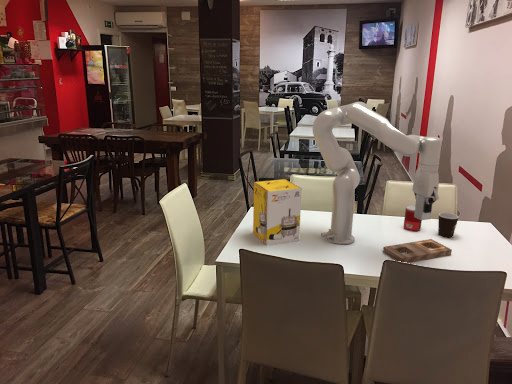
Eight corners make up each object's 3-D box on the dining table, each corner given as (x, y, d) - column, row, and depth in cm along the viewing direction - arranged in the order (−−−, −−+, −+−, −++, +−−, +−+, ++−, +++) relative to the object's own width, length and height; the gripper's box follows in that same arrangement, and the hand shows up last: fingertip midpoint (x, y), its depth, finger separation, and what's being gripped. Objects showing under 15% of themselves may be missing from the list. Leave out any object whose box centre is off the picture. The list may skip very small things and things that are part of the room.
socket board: (401, 264, 169) (402, 257, 168) (382, 252, 180) (383, 246, 179) (450, 254, 178) (451, 248, 177) (430, 244, 188) (431, 238, 188)
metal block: (421, 220, 171) (424, 197, 168) (414, 216, 175) (416, 194, 172) (430, 219, 172) (433, 196, 169) (422, 215, 176) (425, 193, 174)
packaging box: (266, 245, 184) (267, 191, 177) (253, 232, 199) (253, 182, 192) (299, 240, 190) (301, 188, 183) (283, 228, 205) (285, 179, 197)
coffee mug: (446, 240, 193) (450, 220, 190) (431, 233, 200) (434, 214, 198) (463, 235, 198) (466, 216, 195) (448, 229, 206) (451, 210, 203)
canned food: (422, 231, 203) (425, 210, 199) (406, 231, 203) (409, 210, 200) (417, 226, 210) (420, 205, 207) (401, 225, 210) (403, 205, 207)
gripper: (406, 164, 174) (402, 205, 179) (435, 173, 159) (430, 218, 164) (421, 162, 176) (416, 203, 182) (451, 171, 161) (445, 216, 166)
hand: (423, 210), depth 173 cm, fingers closed on metal block, 4 cm apart
